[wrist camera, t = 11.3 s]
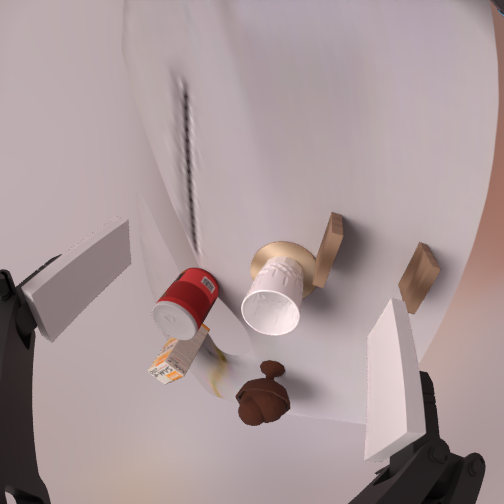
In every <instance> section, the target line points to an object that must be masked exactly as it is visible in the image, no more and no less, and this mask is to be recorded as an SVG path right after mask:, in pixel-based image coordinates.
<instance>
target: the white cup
mask: <svg viewBox="0 0 504 504" xmlns="http://www.w3.org/2000/svg"><path fill="white" fill-rule="evenodd" d="M303 279H304V274H303V270H302V267H301V266H300V265H299V264H298V263H297V262H296V261H295V260H293V259H291V258H289V257H287V256H276V257H273V258H271V259H268V261H267V262H266V263H265V264H264V265H263V267H262V269H261V271H260V272H259V273H258V275H257V277H256V279H255V280H254V282H253V284H252V286H251V288H250V289H249V291H248V293H247V295H246V297H245V299H244V300H243V303H242V306H241V312H242V316H243V318H244V320H245V321H246V323H247V324H248V325H249V326H250V327H251V328H253V329H254V330H256V331H258V332H260V333H263V334H266V335H272V336H279V335H284V334H287V333H289V332H291V331H293V330H294V329H295V328H296V327H297V325H298V323H299V321H300V314H301V305H302V297H303Z"/></svg>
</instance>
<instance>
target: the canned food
mask: <svg viewBox="0 0 504 504" xmlns="http://www.w3.org/2000/svg"><path fill="white" fill-rule="evenodd" d="M218 292H219V287H218V284H217V282H216V280H215V279H214V277H213V276H212V275H211V274H210V273H208V272H207V271H205V270H203V269H200V268H189V269H186V270H185V271H183V272H182V273H181V274H180V275H179V276H178V277H177V279H176V280H175V281H174V282H173V283H172V285H171V286H170V287H169V288H168V289H167V291H166V292H165V293H164V294H163V295H162V297H161V298H160V299H159V300H158V302H157V303H156V304H155V306H154V308H153V309H152V317H153V320H154V321H155V323H156V325H157V326H158V327H159V328H160V329H161V330H162V331H163V332H164V333H166V334H167V335H169V336H171V337H172V338H175V339H178V340H190V339H192V338H193V337H194V336H195V335H196V334H197V332H198V330H199V329H200V327H201V325H202V324H203V322H204V320H205V318H206V317H207V315H208V313H209V311H210V309H211V308H212V306H213V304H214V303H215V301H216V299H217V297H218Z"/></svg>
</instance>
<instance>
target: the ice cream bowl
mask: <svg viewBox="0 0 504 504" xmlns="http://www.w3.org/2000/svg"><path fill="white" fill-rule="evenodd" d="M260 368H261V371H262V373H264V374H265V375H266V378H260V379H255V380H251V381H248V382H247V383H245V384H244V385H243V387H242V388H241V389H240V391H239V392H238V393H237V395H236V399H237V401H238V402H239V404H240V407H239V410H238V413H239V417H240V418H241V420H242V421H243V422H244V423H245V424H247V425H251V426H257V425H260V424H261V423H263V422H265V423H269V422H273V421H276V420H278V419H279V418H280V417H281V416H282V415H283V414H285V413H286V412H287V411H288V410H289V409H290V401H289V397H288V394H287V391H286V389H285V388H284V387H283V386H282V385H280V384H279V383H277V382H276V381H274V377H279V376H281V375H282V374H283V373H284V372H285V369H284V366H283V365H281V364H280V363H279V362H276V361H271V360H269V361H264V362H263V363H262V364H261V365H260Z"/></svg>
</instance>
